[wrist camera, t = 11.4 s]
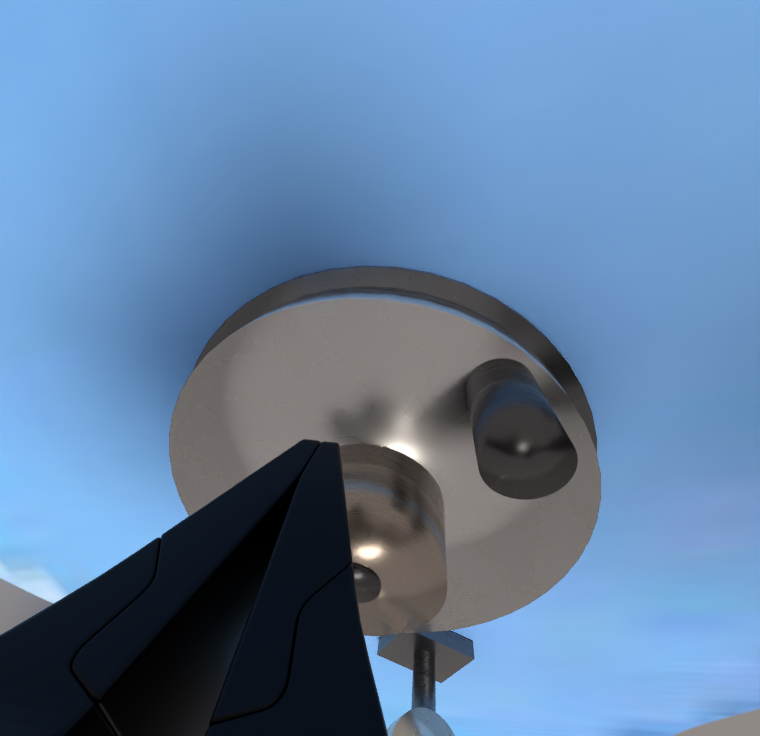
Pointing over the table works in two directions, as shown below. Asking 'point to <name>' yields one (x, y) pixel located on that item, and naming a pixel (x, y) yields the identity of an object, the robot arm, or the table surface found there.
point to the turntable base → (424, 284)
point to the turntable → (407, 429)
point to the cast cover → (394, 538)
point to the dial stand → (425, 675)
